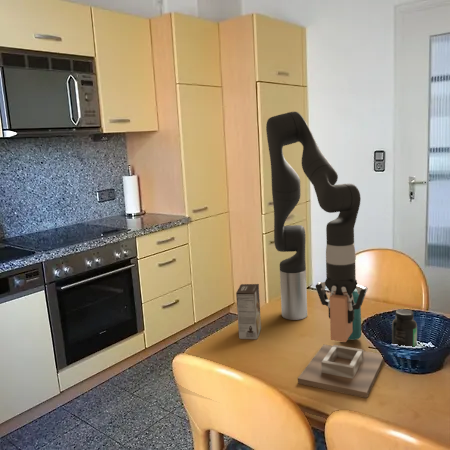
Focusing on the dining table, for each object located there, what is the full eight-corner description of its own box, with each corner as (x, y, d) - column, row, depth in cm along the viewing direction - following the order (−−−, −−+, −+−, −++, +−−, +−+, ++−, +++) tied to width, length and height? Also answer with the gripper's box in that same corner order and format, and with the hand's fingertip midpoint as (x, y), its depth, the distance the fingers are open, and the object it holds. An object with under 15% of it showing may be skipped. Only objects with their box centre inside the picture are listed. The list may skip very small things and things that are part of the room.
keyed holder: (323, 348, 144) (323, 335, 143) (384, 359, 135) (384, 344, 135) (297, 383, 126) (297, 367, 125) (366, 398, 117) (366, 381, 116)
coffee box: (243, 327, 164) (240, 283, 161) (261, 328, 163) (259, 283, 160) (238, 339, 155) (235, 292, 152) (258, 339, 154) (255, 292, 151)
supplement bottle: (421, 353, 137) (421, 314, 135) (399, 356, 136) (399, 317, 134) (408, 343, 144) (409, 306, 142) (387, 346, 143) (387, 309, 141)
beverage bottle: (363, 337, 151) (362, 276, 147) (360, 346, 145) (359, 283, 141) (342, 334, 153) (341, 275, 150) (338, 343, 147) (337, 281, 144)
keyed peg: (330, 339, 127) (329, 297, 124) (338, 329, 132) (337, 288, 130) (345, 342, 125) (344, 298, 122) (352, 332, 131) (351, 290, 128)
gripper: (309, 261, 125) (311, 322, 128) (364, 265, 118) (365, 330, 121) (319, 254, 131) (320, 313, 134) (371, 258, 124) (371, 319, 127)
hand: (341, 320), depth 128 cm, fingers closed on keyed peg, 4 cm apart
